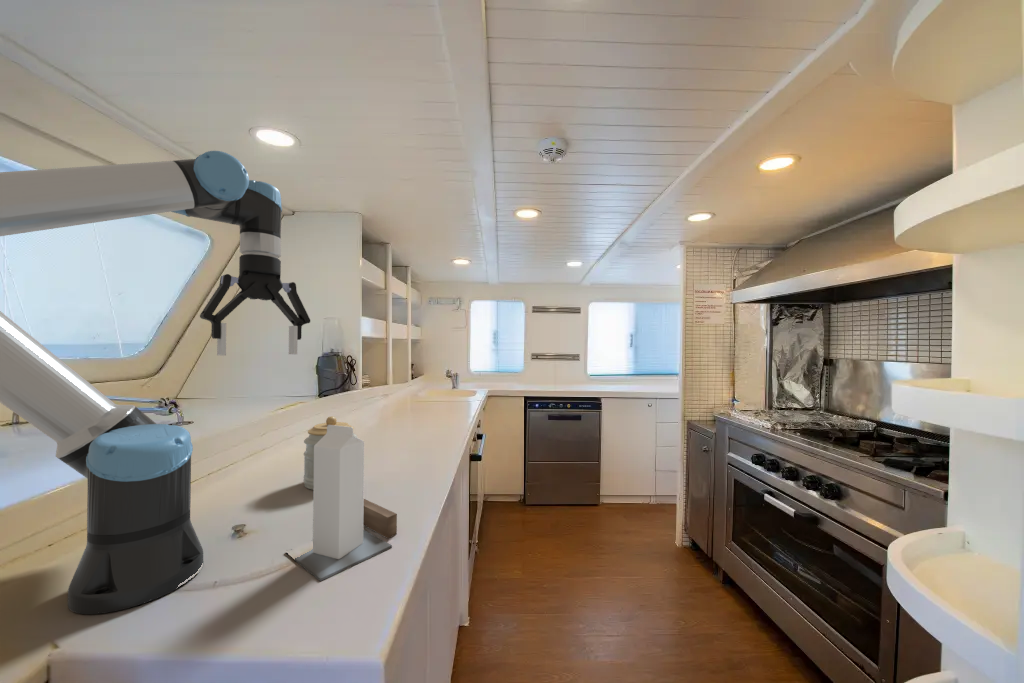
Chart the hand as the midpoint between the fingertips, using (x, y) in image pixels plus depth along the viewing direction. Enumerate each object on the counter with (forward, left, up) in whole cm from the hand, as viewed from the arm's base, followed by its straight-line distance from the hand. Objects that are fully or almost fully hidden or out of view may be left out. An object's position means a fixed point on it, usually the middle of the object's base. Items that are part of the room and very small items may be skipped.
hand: (259, 355), depth 84 cm
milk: (+4, -27, -34) cm, 44 cm away
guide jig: (+6, -21, -35) cm, 41 cm away
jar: (+20, +8, -35) cm, 41 cm away
